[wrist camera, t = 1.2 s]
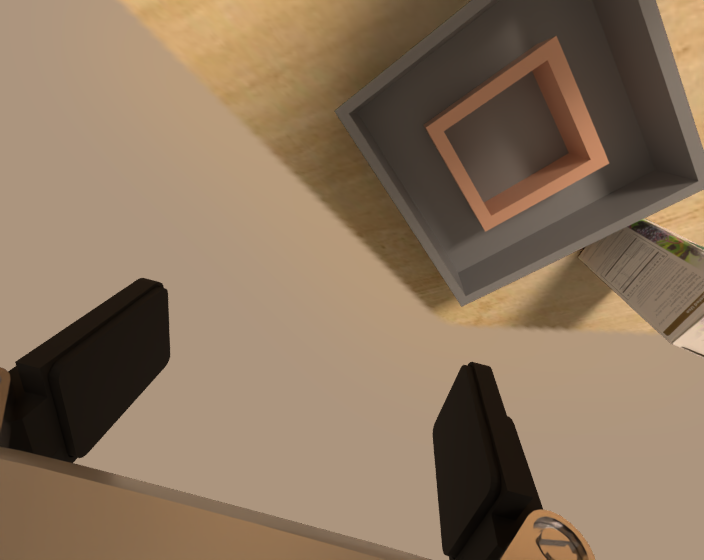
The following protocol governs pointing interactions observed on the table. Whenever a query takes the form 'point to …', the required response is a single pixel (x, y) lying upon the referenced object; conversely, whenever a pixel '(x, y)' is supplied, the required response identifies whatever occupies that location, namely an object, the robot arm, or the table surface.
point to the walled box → (528, 134)
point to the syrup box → (655, 279)
